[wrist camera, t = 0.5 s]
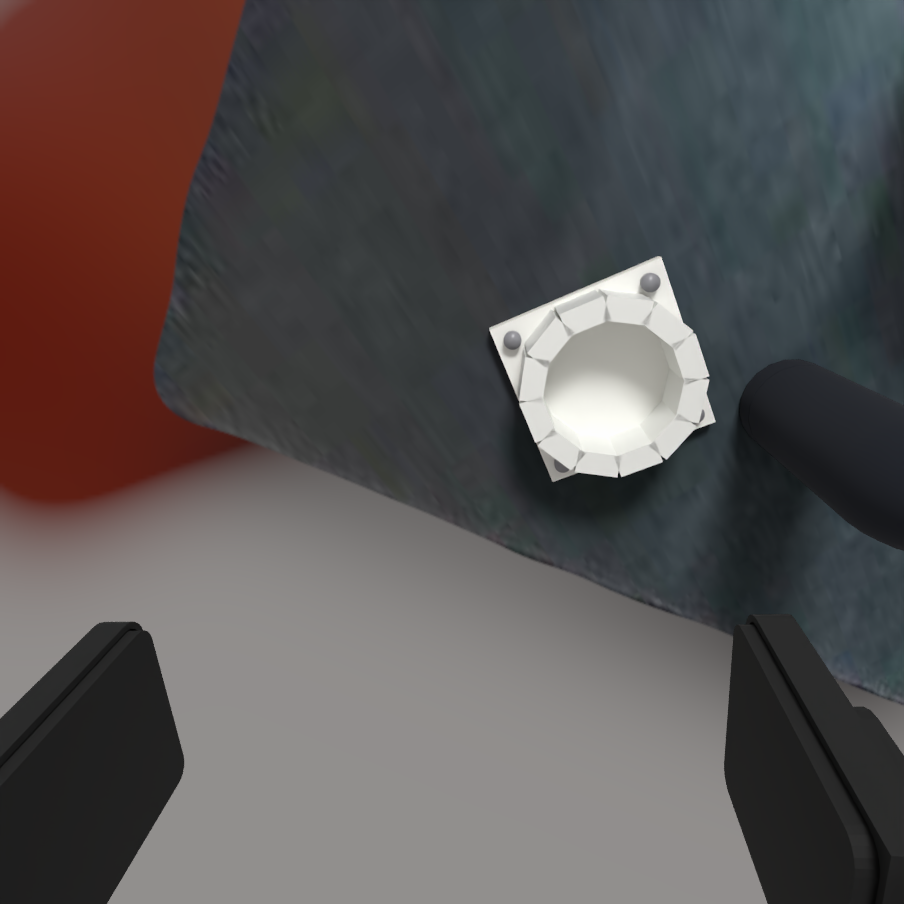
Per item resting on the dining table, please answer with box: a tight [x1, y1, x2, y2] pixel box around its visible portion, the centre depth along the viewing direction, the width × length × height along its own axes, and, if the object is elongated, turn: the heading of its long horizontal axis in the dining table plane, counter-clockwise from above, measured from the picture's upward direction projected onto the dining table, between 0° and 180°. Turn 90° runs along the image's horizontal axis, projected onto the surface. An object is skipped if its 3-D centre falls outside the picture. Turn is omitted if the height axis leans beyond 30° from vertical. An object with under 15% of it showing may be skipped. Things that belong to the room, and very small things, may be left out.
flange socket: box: [489, 256, 715, 482], centre depth 45 cm, size 12×12×5 cm
